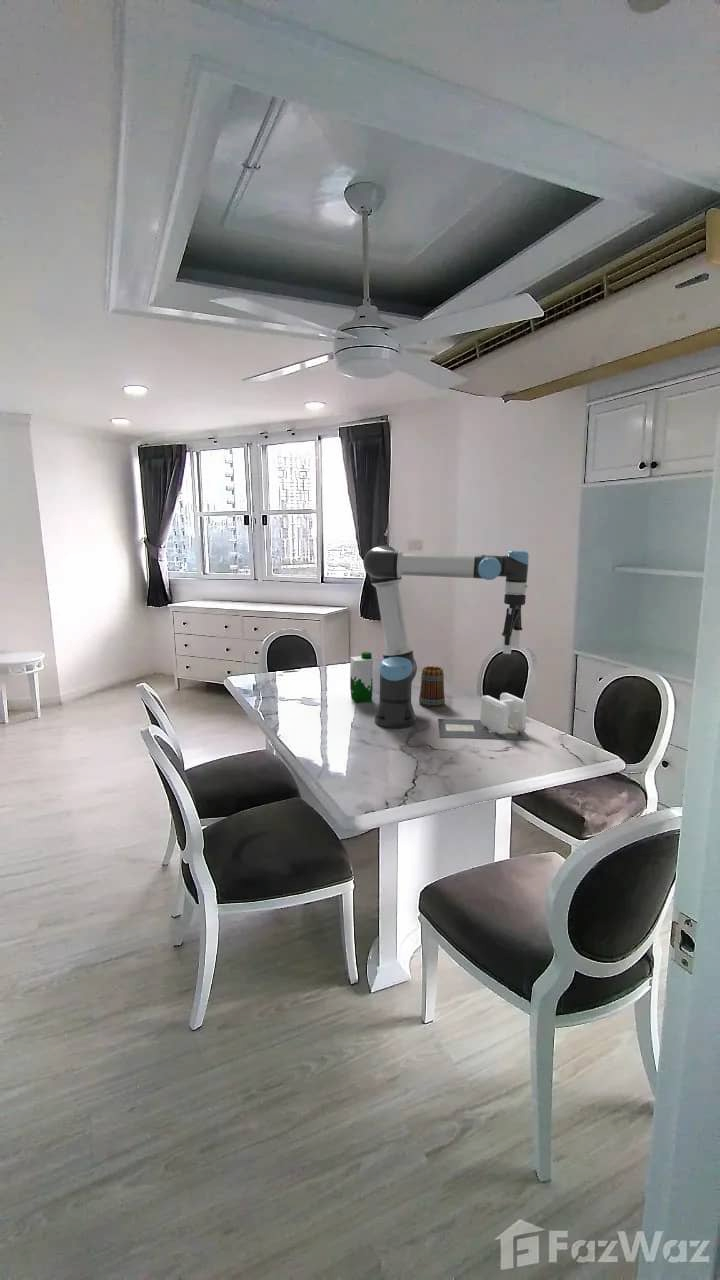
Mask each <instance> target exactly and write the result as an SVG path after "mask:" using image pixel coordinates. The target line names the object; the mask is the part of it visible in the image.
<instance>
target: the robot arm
mask: <svg viewBox="0 0 720 1280" xmlns="http://www.w3.org/2000/svg"><path fill="white" fill-rule="evenodd" d="M529 555H530V554H529V552H527V551H524V550H508V551H507V554H506V555H492V554H491V555H486V554H479V555H477V554H476V555H475V556H470V555H469V556H467V555H444V554H443V555H442V554H440V555H439V554H420V553H419V554H418V553H415V554H414V553H403V551H401V550H396V549H395V548H393V547H392V546H388V545H379V546H375V547H372V548H371V549H370V550H368V551H367V553H366V554H365V556H364V559H363V568H364V571H365V572H366V573H367V574H368V576H369V577H370V582H371V583H370V584H371V585H372V586H373V587H374V588H376V594H377V600H378V609H379V613H380V621H381V626H382V633H383V638H384V639H383V640H384V645H385V650H384V651H383V653H382V656H383V657H382V658H383V659H382V660H381V661H380V664H379V670H378V671H379V702H378V705H377V708H376V710H375V714H374V722H375V724H376V725H377V726H380V727H383V728H390V729H402V728H403V729H404V728H409V727H412V726H414V725H415V724H416V720H417V719H416V714H415V710H414V707H413V703H412V683H413V680H414V679H415V677H416V676H417V671H418V665H417V661H416V659H415V657H414V649H413V648H412V647H411V646H409V644H408V638H407V631H406V624H405V618H404V612H403V605H402V600H401V599H402V598H401V593H400V586H399V584H400V582H401V581H402V576H409V577H410V576H412V577H413V576H414V577H435V578H436V577H437V578H460V579H461V578H464V579H477V580H478V579H479V580H480V579H483V580H485V581H492V580H495V579H496V578H498V577H501V578H502V577H503V578H504V577H505V583H504V592H505V593H504V596H503V597H504V599H503V603H504V604H506V605H508V606H509V607H507V608H506V613H505V614H506V615H505V620H504V627H503V631H502V633H501V636H503V646H502V654H506V655H511V654H512V648H516V649H517V648H518V649H519V647H520V638H521V637H520V636H521V631H523V626H522V606H523V605H526V597H527V595H526V593H527V588H529V585H528V584H527V582H528V571H529Z"/></svg>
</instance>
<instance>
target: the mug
mask: <svg viewBox="0 0 720 1280" xmlns="http://www.w3.org/2000/svg"><path fill="white" fill-rule="evenodd" d="M421 671H422V672H421V676H420V677H421V681H420V690H419V691H420V692H419V697H418V701H419V705H420V706H422V707H425V708H432V709H433V708H441V707H443V706H444V705H445V702H446V697H445V683H444V682H445V681H444V680H445V677H444V676H445V674H444V669H443V668H442V667H440V666H434V665H433V664H428V665H427V666H425V667H422V670H421Z"/></svg>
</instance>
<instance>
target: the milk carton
mask: <svg viewBox="0 0 720 1280" xmlns="http://www.w3.org/2000/svg"><path fill="white" fill-rule="evenodd" d="M349 666H350V670H349V671H350V672H349V674H350V676H349V678H350V679H349V682H350V683H349V685H350V686H349V689H350V697H351V698H350V699H351V700H352V701H353V702H354V703H355V704H359V703H360V704H363V703H372V702H373V686H374V685H373V683H374V682H373V681H374V680H373V677H374V675H373V672H374V670H373V669H374V667H373V666H374V659H373V657H372V652H369V651H368V652H367V651H364V652H361V655H360V656H359V655H357V656H350V665H349Z"/></svg>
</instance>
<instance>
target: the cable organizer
mask: <svg viewBox="0 0 720 1280" xmlns="http://www.w3.org/2000/svg"><path fill="white" fill-rule="evenodd" d="M527 708H528V705H527V702H526V701H525V700H524V699H523V698H519V697H517V696H516V695H513V694H510V693H508V692H502V693H501V694H500V695H499V699H497V698H494V697H492V696H490V695H489V694H488V695H481V697H480V712H479V713H480V714H479V715H480V718H479V720H480V721H481V723H482V724H483V725H484V726H485V727H487V728H489V729H492V730H494V731H495V732H496V733H498V734H506V733H507V732H508V726H511V727H513V728H514V729H515V730H517V731H522V730H524V731H525V729H526V728H527V727H526V726H527V711H528V709H527Z"/></svg>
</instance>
